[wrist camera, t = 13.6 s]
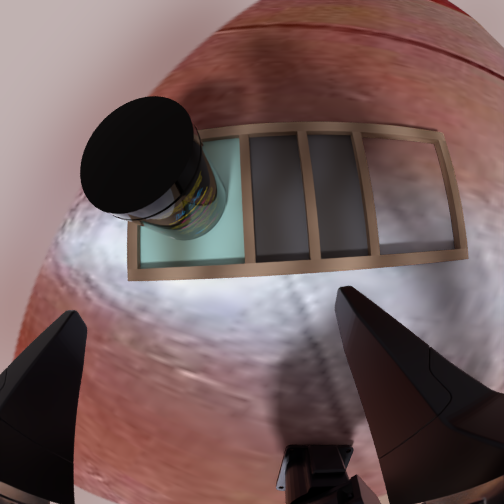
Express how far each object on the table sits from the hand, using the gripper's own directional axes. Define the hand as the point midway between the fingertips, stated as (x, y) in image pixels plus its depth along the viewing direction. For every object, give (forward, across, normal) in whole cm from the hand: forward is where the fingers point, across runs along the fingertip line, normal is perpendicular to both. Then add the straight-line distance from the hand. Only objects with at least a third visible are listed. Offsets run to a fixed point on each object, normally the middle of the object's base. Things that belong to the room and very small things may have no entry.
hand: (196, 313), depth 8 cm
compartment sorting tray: (+15, -7, +3) cm, 17 cm away
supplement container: (+15, +3, +3) cm, 16 cm away
